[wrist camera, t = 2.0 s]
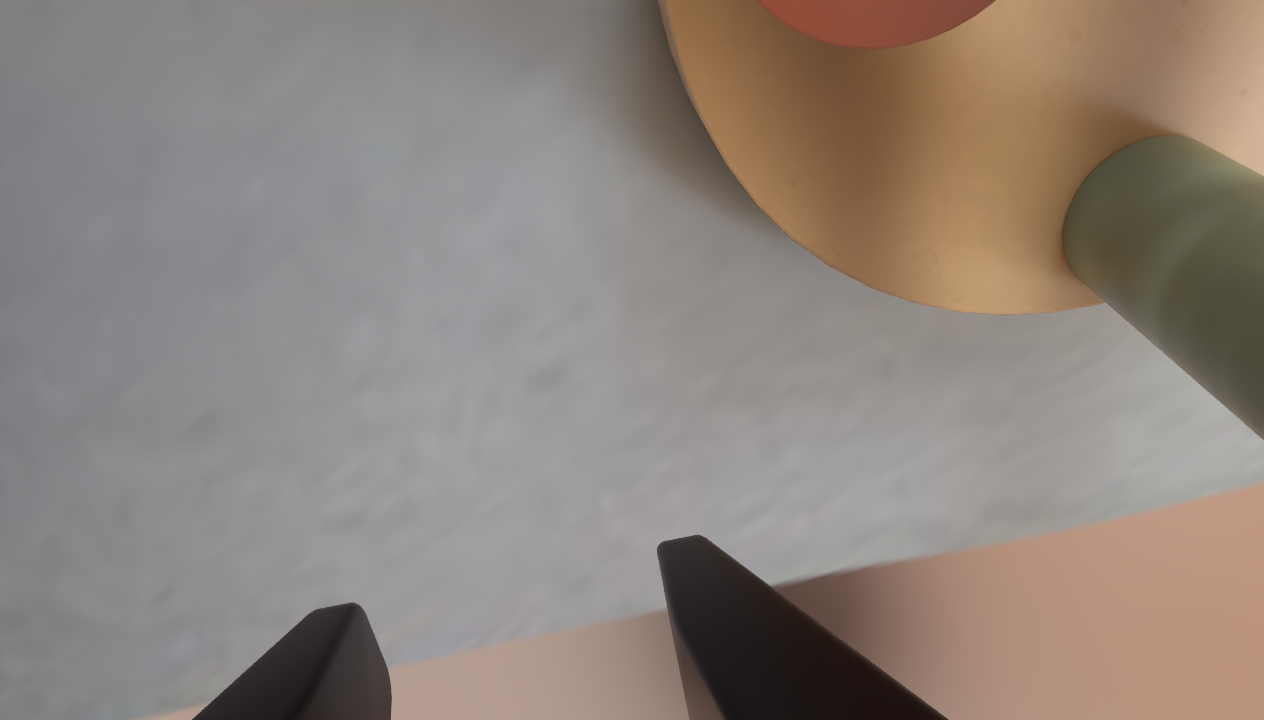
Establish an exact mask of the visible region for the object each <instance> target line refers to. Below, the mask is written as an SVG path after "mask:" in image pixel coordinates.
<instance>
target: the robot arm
mask: <svg viewBox="0 0 1264 720" xmlns="http://www.w3.org/2000/svg"><path fill="white" fill-rule="evenodd" d="M657 554H658V559H659V565H660V570H661V575H662V581H663V586H664V592H665V597H666V603H667V608H668V613H669V619H670V624H671V629H672V634H673V639H674V644H675V649H676V654H677V659H678V664H679V669H680V674H681V679H682V684H683V689H684V693H685V699H686V704H687V709H688V714H689V719H690V720H948V719H947V718H945V717H944V716H943V715H942V714H940V713H939V712H938V711H936V710H935V709H933V708H932V707H931V706H929V705H928V704H927V703H925V702H924V701H923V700H922V699H920V698H919V697H918V696H916V695H915V694H913V693H912V692H911V691H909V690H908V689H907V688H905V687H904V686H903V685H901V684H900V683H899V682H897V681H896V680H895V679H893V678H892V677H891V676H889V675H888V674H887V673H885V672H884V671H883V670H881V669H880V668H879V667H877V666H876V665H875V664H873V663H872V662H871V661H869V660H868V659H867V658H865V657H864V656H862V655H861V654H860V653H859V652H857V651H856V650H855V649H853V648H852V647H851V646H849V645H848V644H847V643H845V642H844V641H843V640H841V639H840V638H839V637H837V636H836V635H834V634H833V633H832V632H831V631H829V630H828V629H827V628H825V627H824V626H823V625H821V624H820V623H819V622H817V621H816V620H815V619H813V618H812V617H811V616H809V615H808V614H807V613H805V612H804V611H803V610H801V609H800V608H799V607H797V606H796V605H795V604H793V603H792V602H791V601H789V600H788V599H787V598H785V597H784V596H783V595H781V594H780V593H779V592H777V591H776V590H775V589H773V588H772V587H771V586H769V585H768V584H767V583H765V582H764V581H763V580H761V579H760V578H759V577H757V576H756V575H755V574H753V573H752V572H751V571H749V570H748V569H747V568H745V567H744V566H743V565H741V564H740V563H739V562H737V561H736V560H735V559H733V558H732V557H731V556H729V555H728V554H727V553H725V552H724V551H723V550H721V549H720V548H719V547H717V546H716V545H715V544H713V543H712V542H711V541H709V540H708V539H707V538H705V537H703V536H700V535H694V536H688V537H683V538H678V539H673V540H668V541H664V542H662V543H660V544H659V546H658V548H657ZM391 699H392V696H391V683H390V677H389V673H388V669H387V666H386V663H385V661H384V658H383V656H382V653H381V651H380V648H379V646H378V643H377V641H376V638H375V635H374V633H373V630H372V628H371V625H370V623H369V620H368V618H367V615H366V613H365V611H364V610H363V609H362V607H361V606H360V605H358V604H356V603H347V604H342V605H337V606H332V607H326V608H321V609H317V610H314V611H313V612H311V613H309V614H308V615H307V616H306V617H305V618H304V619H303V620H302V621H300V622H299V623H298V624H297V625H296V626H295V627H294V628H293V629H292V630H290V631H289V632H288V633H287V634H286V635H285V636H284V637H283V638H282V639H281V640H279V641H278V642H277V643H276V644H275V645H274V646H273V647H272V648H271V649H269V650H268V651H267V652H266V653H265V654H264V655H263V656H262V657H261V658H260V659H258V660H257V661H256V662H255V663H254V664H253V665H252V666H251V667H250V668H249V669H247V670H246V671H245V672H244V673H243V674H242V675H241V676H240V677H239V678H237V679H236V680H235V681H234V682H233V683H232V684H231V685H230V686H229V687H228V688H226V689H225V690H224V691H223V692H222V693H221V694H220V695H219V696H218V697H216V698H215V699H214V700H213V701H212V702H211V703H210V704H209V705H208V706H207V707H205V708H204V709H203V710H202V711H201V712H200V713H199V714H198V715H197V716H195V717H194V718H193V719H192V720H391V702H392V700H391Z"/></svg>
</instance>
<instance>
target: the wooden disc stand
mask: <svg viewBox="0 0 1264 720" xmlns="http://www.w3.org/2000/svg"><path fill="white" fill-rule="evenodd" d="M658 4H659V8H660V12H661V16H662V20H663V24H664V29H665V33H666V37H667V41H668V45H669V48H670V51H671V54H672V56H673V59H674V61H675V64H676V67H677V69H678V72H679V74H680V77H681V79H682V82H683V85H684V87H685V90H686V92H687V95H688V97H689V99H690V101H691V103H692V105H693V106H694V108H695V110H696V112H697V114H698V115H699V117H700V119H701V121H702V123H703V125H704V126H705V128H706V130H707V132H708V134H709V135H710V137H711V139H712V141H713V143H714V144H715V146H716V148H717V149H718V151H719V153H720V154H721V156H722V158H723V160H724V161H725V163H726V165H727V166H728V167H729V169H730V170H731V171H732V173H733V174H734V175H735V177H736V178H737V179H738V181H739V182H740V183H741V184H742V186H743V187H744V188H745V190H746V191H747V192H748V194H749V195H750V196H751V198H752V199H753V200H754V202H755V203H756V204H757V205H758V206H759V207H760V208H761V209H762V210H763V211H764V212H765V213H766V214H767V215H768V216H769V217H770V218H771V219H772V220H773V221H774V222H775V223H776V224H777V225H778V226H779V227H780V228H781V229H782V230H783V231H784V232H785V233H786V234H787V235H788V236H789V237H790V238H791V239H793V240H794V241H795V242H797V243H798V244H800V245H801V246H802V247H804V248H805V249H806V250H808V251H809V252H811V253H812V254H813V255H815V256H816V257H818V258H819V259H820V260H822V261H823V262H824V263H826V264H827V265H829V266H830V267H832V268H834V269H836V270H838V271H840V272H842V273H844V274H846V275H847V276H849V277H851V278H853V279H855V280H857V281H859V282H861V283H863V284H865V285H867V286H869V287H871V288H874V289H876V290H879V291H882V292H885V293H888V294H891V295H893V296H896V297H899V298H902V299H905V300H908V301H911V302H914V303H919V304H924V305H929V306H934V307H939V308H943V309H948V310H953V311H958V312H972V313H987V314H1001V315H1010V314H1028V313H1046V312H1056V311H1062V310H1067V309H1073V308H1079V307H1085V306H1091V305H1096V304H1101V303H1105V302H1106V303H1107V304H1108V305H1110V306H1111V307H1112V308H1113V309H1114V310H1115V311H1116V312H1118V313H1119V314H1120V315H1121V316H1122V317H1123V318H1124V319H1126V320H1127V321H1128V322H1129V323H1130V324H1131V325H1132V326H1134V327H1135V328H1136V329H1137V330H1138V331H1139V332H1140V333H1142V334H1143V335H1144V336H1145V337H1146V338H1147V339H1148V340H1150V341H1151V342H1152V343H1153V344H1154V345H1155V346H1157V347H1158V348H1159V349H1160V350H1161V351H1162V352H1163V353H1165V354H1166V355H1167V356H1168V357H1169V358H1170V359H1171V360H1173V361H1174V362H1175V363H1176V364H1177V365H1178V366H1179V367H1181V368H1182V369H1183V370H1184V371H1185V372H1186V373H1187V374H1189V375H1190V376H1191V377H1192V378H1193V379H1194V380H1195V381H1197V382H1198V383H1199V384H1200V385H1201V386H1202V387H1203V388H1205V389H1206V390H1207V391H1208V392H1209V393H1210V394H1211V395H1213V396H1214V397H1215V398H1216V399H1217V400H1218V401H1220V402H1221V403H1222V404H1223V405H1224V406H1225V407H1226V408H1228V409H1229V410H1230V411H1231V412H1232V413H1233V414H1234V415H1236V416H1237V417H1238V418H1239V419H1240V420H1241V421H1242V422H1244V423H1245V424H1246V425H1247V426H1248V427H1249V428H1250V429H1252V430H1253V431H1254V432H1255V433H1256V434H1257V435H1258V436H1260V437H1261V438H1262V439H1263V440H1264V0H658Z"/></svg>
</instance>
